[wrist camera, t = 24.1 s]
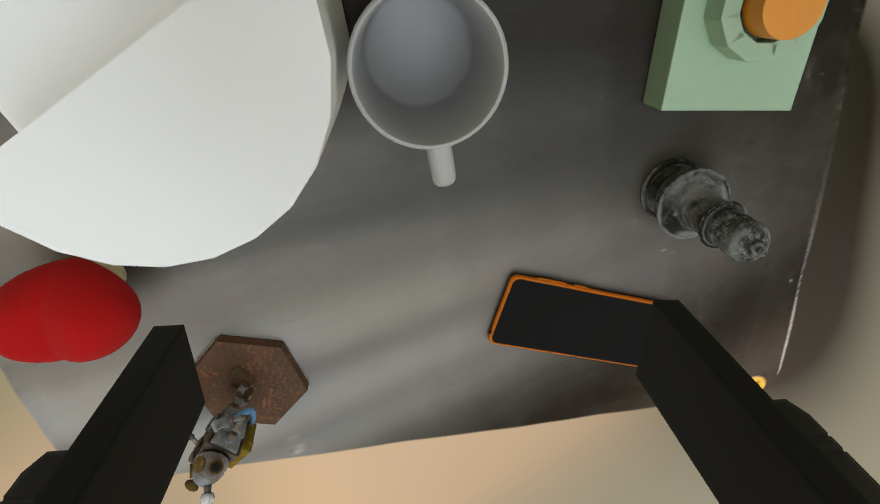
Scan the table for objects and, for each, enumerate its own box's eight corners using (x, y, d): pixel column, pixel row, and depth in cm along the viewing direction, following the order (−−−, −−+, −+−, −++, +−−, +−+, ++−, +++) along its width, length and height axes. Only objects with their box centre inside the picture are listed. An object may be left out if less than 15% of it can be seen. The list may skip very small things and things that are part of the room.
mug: (342, -7, 33) (324, -7, 24) (468, -31, 33) (501, -41, 24) (382, 165, 39) (380, 222, 29) (489, 144, 39) (524, 194, 29)
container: (206, -226, 28) (75, -387, 16) (405, 89, 37) (415, 134, 25) (-41, -12, 31) (-299, -15, 19) (195, 230, 40) (116, 328, 28)
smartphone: (640, 363, 51) (644, 369, 50) (485, 337, 47) (486, 343, 47) (675, 302, 48) (679, 307, 47) (511, 269, 44) (513, 274, 43)
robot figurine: (238, 312, 44) (191, 414, 33) (327, 363, 47) (310, 470, 37) (174, 390, 47) (112, 507, 36) (261, 433, 50) (228, 550, 40)
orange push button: (752, -34, 31) (775, -35, 29) (812, -32, 31) (839, -34, 29) (733, 37, 33) (754, 40, 31) (791, 38, 33) (814, 40, 31)
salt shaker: (717, 163, 42) (831, 221, 31) (685, 226, 44) (780, 301, 34) (654, 148, 40) (750, 203, 30) (625, 214, 43) (704, 286, 32)
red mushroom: (166, 229, 40) (102, 296, 31) (181, 304, 43) (128, 384, 34) (38, 227, 39) (-65, 296, 30) (64, 304, 42) (-23, 387, 33)
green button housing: (685, -121, 32) (733, -139, 28) (829, -115, 33) (897, -131, 29) (642, 102, 39) (675, 117, 34) (763, 102, 40) (811, 116, 35)
